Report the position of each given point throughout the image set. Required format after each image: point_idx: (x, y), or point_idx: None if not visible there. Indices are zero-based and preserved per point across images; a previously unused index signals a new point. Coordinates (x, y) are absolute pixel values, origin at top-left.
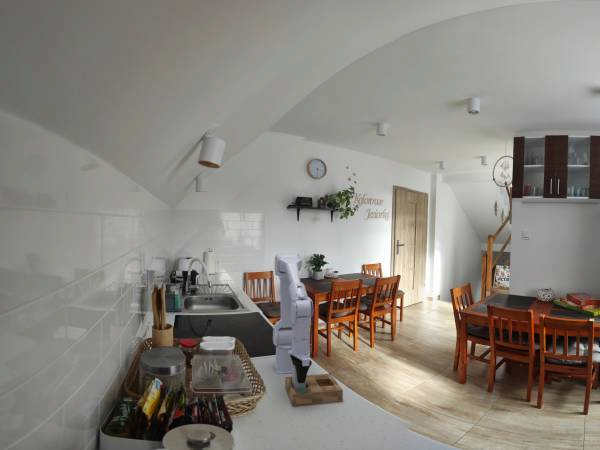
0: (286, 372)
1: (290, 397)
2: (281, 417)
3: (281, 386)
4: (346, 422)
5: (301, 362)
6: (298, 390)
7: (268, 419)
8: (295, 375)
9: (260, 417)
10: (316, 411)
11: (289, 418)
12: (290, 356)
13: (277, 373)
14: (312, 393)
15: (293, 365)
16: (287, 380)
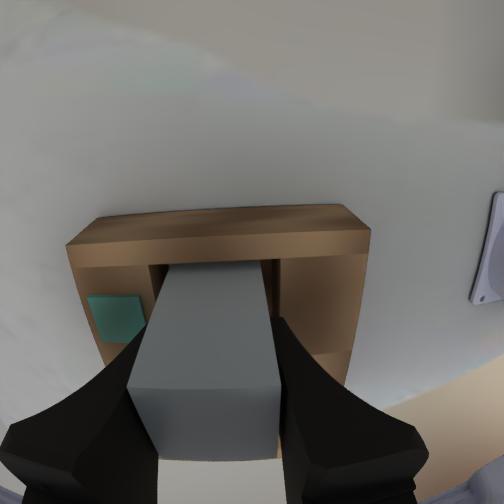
0: (487, 247)
1: (152, 219)
2: (19, 150)
3: (368, 184)
4: (37, 383)
5: (25, 493)
6: (124, 293)
7: (11, 86)
8: (143, 342)
9: (30, 44)
10: (75, 321)
11: (13, 190)
12: (321, 467)
13: (496, 195)
14: (103, 359)
15: (256, 390)
16: (305, 237)
